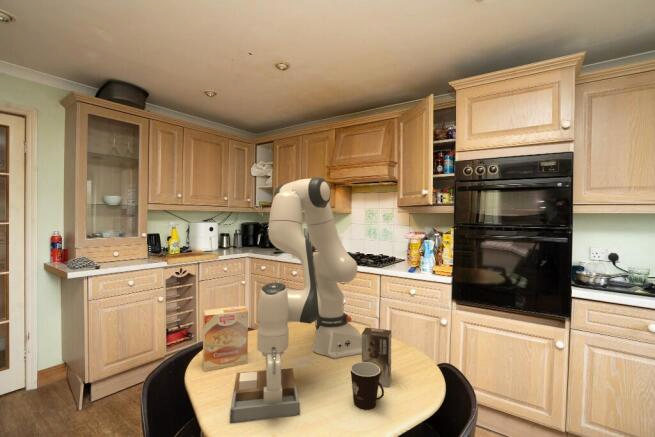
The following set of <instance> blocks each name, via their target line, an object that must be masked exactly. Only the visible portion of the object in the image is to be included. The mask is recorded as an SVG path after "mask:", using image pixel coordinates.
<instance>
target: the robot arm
mask: <svg viewBox="0 0 655 437" xmlns="http://www.w3.org/2000/svg"><path fill="white" fill-rule="evenodd" d="M331 190H332V189H331V186H330V185H329V182H327V180H326V179H325V178H323V177H312V178H303V179H297V180H294V181H291V182H287V183H286V182H285V183H281V185H278V186H277V187H276V188H275V191H274V192H273V199H272V203H271V207H270V211H269V218H268V239H269V241H270V243H271V244H272V245H273V246H274V247H275V248H277V249H278V250H281V251H282V252H284V253H287V254H289V255H291V256H293V257H295V258H296V259H298V261H300V264H301V267H302V275H303V284H304V288H303V289H287V285H285V284H284V283H281V282H270V283H267V284H264V285H262V287H261V288H260V290H259V296H258V305H257V320H258V327H257V336H256V337H257V339H256V340H257V341H256V342H257V345H256V347H257V348H256V349H257V350H258V351H259V352H260V353H261V355H262V356H263V357H264V358H265V368H266V369H265V370H266V380H267V390H268V391H277V390H280V389H281V369H282V360H281V356H283V355H284V353H285V351H287V349H288V348H289V336H290V335H289V332H290V331H289V330H290V329H289V326H288V322H293V323H294V322H297V323H301V324H309V325H310V324H312V323H314V326H315V330H314V331H315V332H314V338H313V343H312V346H311V349H312V351H313V352H315V353H316V354H318V355H322V356H327V357H329V358H332V359H338V358H343V357H344V358H345V357H349V356H350V357H351V356H355V355H362V335H361V333H360V331H359V330H358V329H357V328H356V327H355V326H354V325H352V324H351V322H352V317H351V316H350V315H348V314H347V313H345V311H344V303H345V301H344V299H345V298H344V297H345V296H344V293H343V292H342V289H340V287H339V285H338V283H350V282H352V281H353V280H354V279H355V278H356V277H357V274H358V263H357V261H356V260H355V259H354V258H353V257H352V256H351V255H350V254H349V253H348V252H347V250H346V249H345V246H344V245H343V243H342V241H341V239H340V237H339V234H338V230H337V226H336V223H335V222H336V221H335V217H334V214H333V211H332V206H331V205H330V200H331V195H332V192H331ZM303 211H304V219H305V223H306V227H307V232H308V236H309V239H310V240H309V239H308V238H306V237H305V235H304V232H303ZM313 247H314V248H315V249H316V250H317V251H313V250H314V249H313Z"/></svg>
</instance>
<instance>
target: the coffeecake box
mask: <svg viewBox="0 0 655 437" xmlns="http://www.w3.org/2000/svg"><path fill="white" fill-rule="evenodd" d="M202 317H203V319H202V320H203V321H202V322H203V325H202V326H203V327H202V328H203V332H202V333H203V334H202V367H203V372H207V371H214V370H217V369H223V368H228V367H229V368H230V367H234V366H235V367H236V366H239V365H244V364H248V353H249V352H248V349H249V347H248V346H249V344H248V342H249V340H248V339H249V310H248V308H247V307H246V305H239V306H230V307H228V306H227V307H221V308H219V307H218V308H211V309H209V308H208V309H203V316H202Z"/></svg>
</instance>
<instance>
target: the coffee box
mask: <svg viewBox="0 0 655 437" xmlns="http://www.w3.org/2000/svg"><path fill="white" fill-rule="evenodd" d="M360 335H361V338H362V353H361V362H369V363H373V364H375V365H377V366H378V367H379V368H380V378H379V383H380V384H381V385H382V387H386V388H389V387H390V385H391V381H392V330H391V329H381V328H374V327H365V328H364V329H363V331H362V332H361V333H360Z"/></svg>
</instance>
